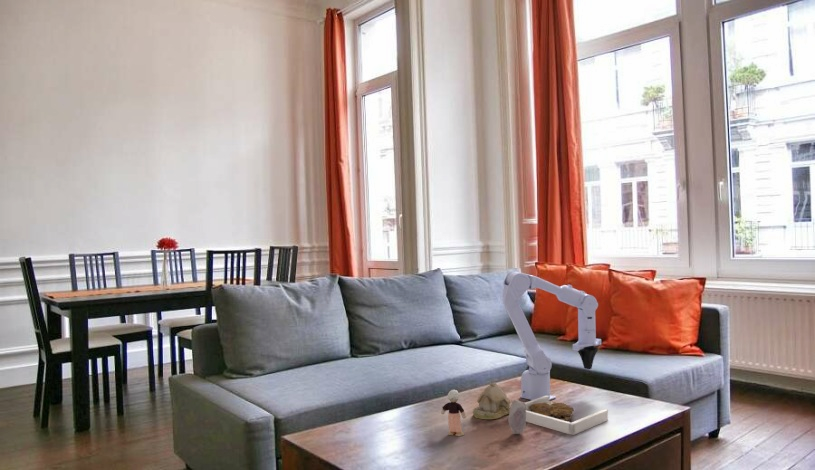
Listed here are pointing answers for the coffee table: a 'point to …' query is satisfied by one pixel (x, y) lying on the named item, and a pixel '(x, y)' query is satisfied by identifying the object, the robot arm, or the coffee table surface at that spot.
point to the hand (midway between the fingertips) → (587, 368)
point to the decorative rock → (553, 410)
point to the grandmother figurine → (454, 413)
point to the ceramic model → (492, 403)
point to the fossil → (517, 416)
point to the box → (561, 424)
